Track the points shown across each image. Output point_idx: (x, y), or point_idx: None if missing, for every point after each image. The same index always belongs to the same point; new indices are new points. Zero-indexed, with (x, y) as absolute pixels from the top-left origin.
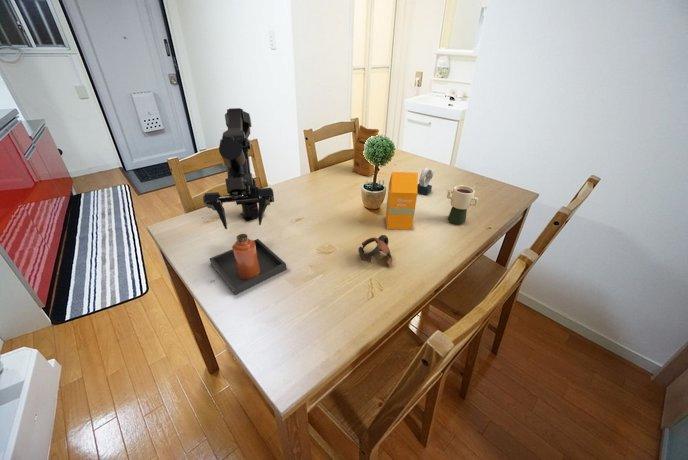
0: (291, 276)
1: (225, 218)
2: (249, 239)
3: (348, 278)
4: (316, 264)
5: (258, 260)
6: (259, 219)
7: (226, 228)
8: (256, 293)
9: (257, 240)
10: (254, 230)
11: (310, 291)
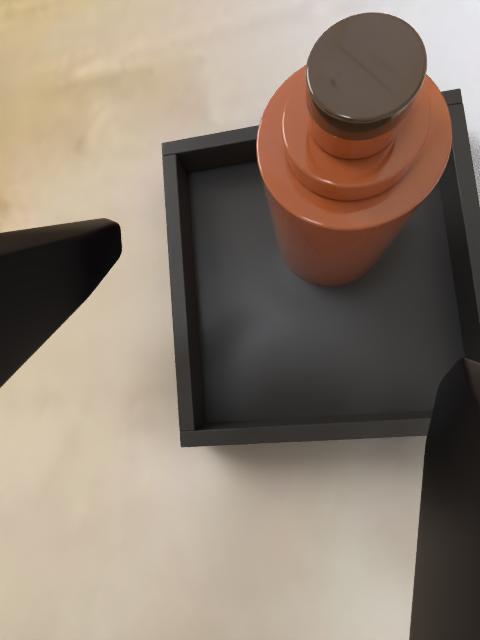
0: (179, 126)
1: (433, 530)
2: (286, 140)
3: (13, 10)
4: (56, 143)
5: (253, 301)
6: (72, 232)
7: (453, 366)
8: None
9: (190, 429)
10: (153, 605)
11: (163, 10)
